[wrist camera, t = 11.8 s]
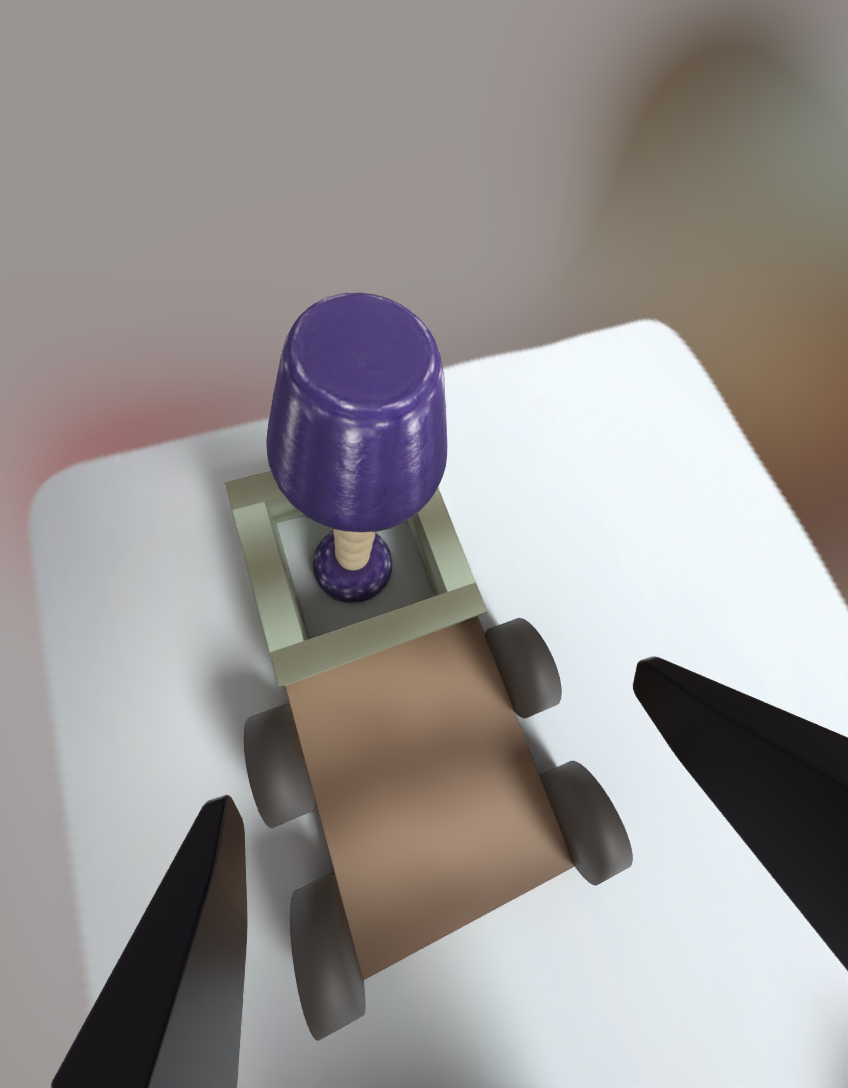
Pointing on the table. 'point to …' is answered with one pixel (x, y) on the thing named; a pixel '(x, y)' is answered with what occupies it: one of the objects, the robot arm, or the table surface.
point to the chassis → (408, 763)
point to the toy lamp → (358, 431)
